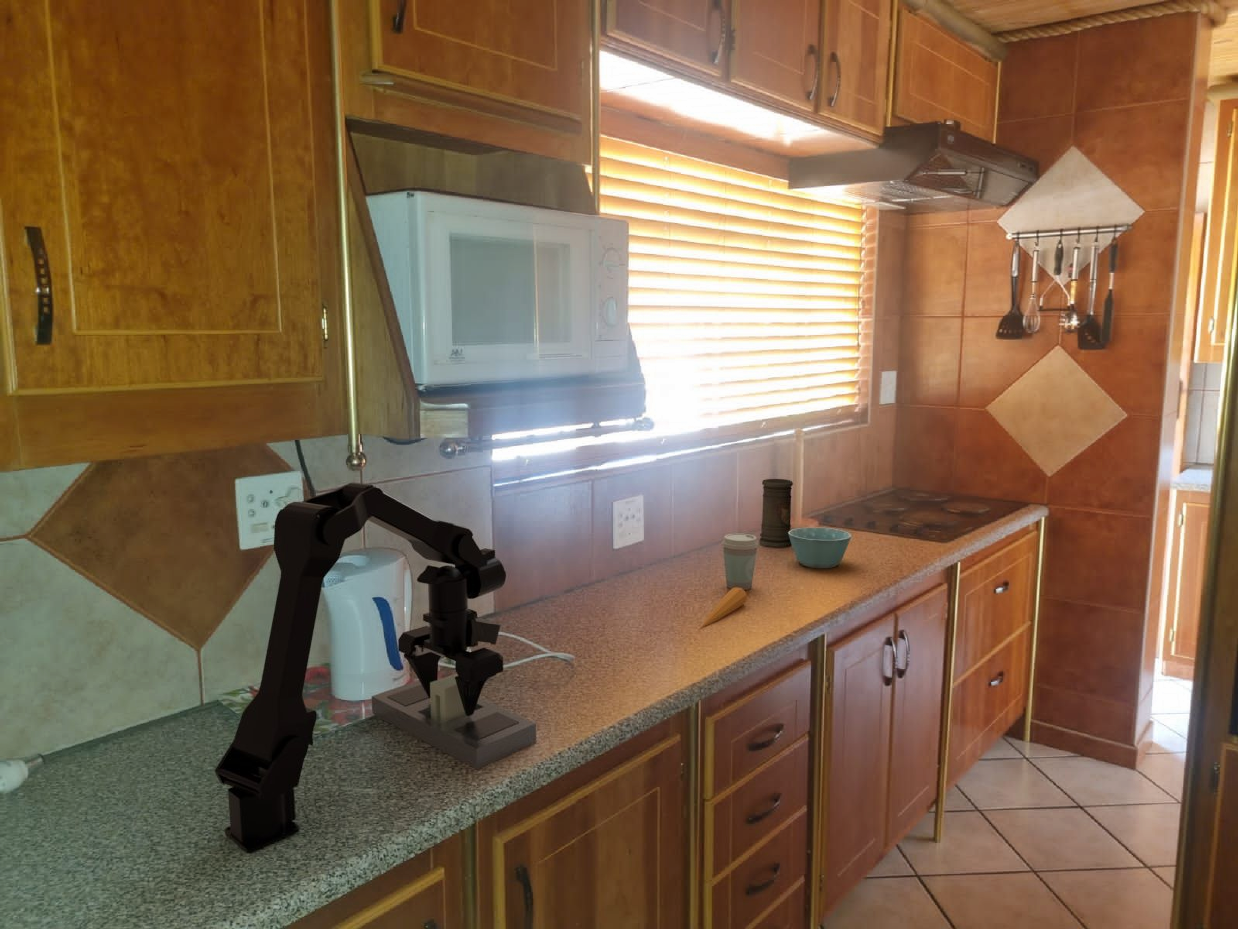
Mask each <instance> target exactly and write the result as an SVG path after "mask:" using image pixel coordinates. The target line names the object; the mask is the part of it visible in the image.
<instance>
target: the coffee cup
mask: <svg viewBox="0 0 1238 929" xmlns="http://www.w3.org/2000/svg"><path fill="white" fill-rule="evenodd" d="M721 542H722V543H721V546H722V547H723V548H722V549H723V561H724V571H725V582H726V583H725V584H726V588H728V589H730V590H731V589H732V588H735V587H737V588H742V589H743V590H744V591H747V590H750V589H752V588H753V587H752V586H753V580H754V574H755V573H754V572H755V565H756V561H757V560H756V559H757V553H758V548H759V546H760V544H759V541H758V539H757V536H756V535H753V534H748V533H729V534H726V535H724V537H723V540H722V541H721Z"/></svg>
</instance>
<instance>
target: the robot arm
mask: <svg viewBox="0 0 1238 929" xmlns="http://www.w3.org/2000/svg"><path fill="white" fill-rule="evenodd" d="M368 521H369V522H371V523H373V524H374V525H377V526H378V527H380V528H383V529H385V530H386V531H388V532H390V533H393V534H395V535H397V536H399V537H401V538H403V539H405V540H407V541H408V543H410V545H411V547H412V550H414V551H415V552H416V553H417V554H419V556H421V557H422V558H423V559H425V560H428V561H433V562H439V563H443V564H449V565H442V566H440V567H439V566H435V565H434V566H433V565H429V564H428V565H427V566H426V568H425V569H424V570H423V571H422V572H421V573H420V574H419V575H418V576H417V578H416V581H417V583H421V584H426V585H427V586H428V587H427V588H428V590H427V592H428V595H427V596H428V612H425V613H424V614H422V621H423V622H425V623H428V624H429V625H425V626H421V627H417V628H414V629H411V630H406V631H404V632H402V634H401V635H400V636H399V638H398V639H397V640H398V641H397V643H398V646H397V647H398V652H400V653H403V658H404V659H405V660H406V661H407V662H408V664H409V665H410V668H411V669H412V671H413V672H414V674H415V675H416V677H417V679H418V680H419V681H420V683H421V684H422V686H423V688H424V690H425V692H426V694H427V695H428V697H429V698H430V683H431V682H433V681H436V680H439V678H438V676H439V661H440V660H441V658H447V659H449V660H451V661H454V669H455V672H456V674H458V676H457V677H455V680H456V684H457V687H458V691H459V694H460V698H461V701H462V705H463V708H464V711H465V714H466V716H470V715H473V714H474V711H475V708H476V705H477V702H478V699H479V698H480V696H481V693H482V690H483V688H484V686H485V684H486V682H487V681H488V679H490V678H493V677H494V676H496V675H497V674H500V673H502V672H504V656H502V655H501V654H500V653H499V652H496V651H494V650H491V649H489V648H487V647H481V648H478V649H476V650H471V651H468V648H469V647H470V648H474V647H477V646H479V642H480V643H488V644H490V645H497V641H498V637H499V632H500V628H501V625H502V624H500V623H497V622H495V621H491V620H488V619H485V618H482V617H478V612H477V611H476V610H474V609H470V608H468V607H469V605H468V600H472V599H473V600H474V599H477V598H479V597H482V596H485V595H487V594H490V593H493V592H494V591H497V590H500V589H501V588H502V587H503V586H504V585H505V582H506V578H507V571H506V570H505V568H504V565H503V564H502V562H501V561H500V559H499V558H497V557H496V550H495V549H491V548H487V547H486V548H482V549H480V548H479V546H478V544H477V543H476V541H475V539H474V537H473V536H474V533H473V531H472V530H471V528H469V527H467V526H464V525H460V524H456V523H453V522H446V521H442V520H438V519H434V518H431V517H430V516H428V515H426V514H425V513H422V512H420V511H419V510H417V509H415V508H413V507H412V506H410V505H407V504H406V503H404V502H402V501H401V500H399V499H397V498H395V497H393V496H392V495H389V494H387V493H386V492H384V491H383V490H382V488H380V487H378V485H374V484H369V483H360V482H349V483H347V484H344V485H341V487H339V488H337V489H335V490H331V491H328V492H325V493H321V494H318V495H315V496H311V497H308V498H307V499H304V500H302V501H292V502H289V503H288V504H287V505H286V506H284V507H283V508H282V509H280V510H279V511H278V513H277V515H276V517H275V520H274V531H273V533H274V535H273V536H274V537H273V551H274V554H275V558H276V561H277V563H278V567H279V570H280V579H279V584H278V589H277V595H276V599H275V605H274V611H273V615H272V621H271V626H270V632H269V638H268V642H267V649H266V653H265V660H264V664H263V670H262V673H261V674H262V675H261V681H260V685H259V690H258V692H257V694H256V695H255V696H254V697H253V699H252V700H250V702H249V704H248V705H247V706H246V707H245V708H244V710H243V712H242V714H241V717H240V720H239V723H238V725H237V729H236V732H235V735H234V738H233V740H232V742H231V744H230V745H229V747H228V748H227V750H226V752H225V753H224V755H223V756H222V758H221V759H220V761H219V763H218V764H217V766H216V767H215V769H214V773H215V776H216V777H217V780H218V781H219V783H220V784H223V785H227V786H229V788H227V798H228V812H229V826H227V827H225V828H224V834H225V835H226V836H227V837H228V838H230V839H231V840H232V841H233V842H234V843H236V844H237V845H238V846H239V847H240V848H241V849H242V850H244V851H245V852H246V853H252V852H255V851H256V850H260V849H262V848H263V847H266V846H268V845H270V844H273V843H275V842H277V841H280V840H281V839H282V840H283V839H284V838H287V837H289V836H292V835H294V834H296V833H298V832H299V831H300V826H299V825H298V824H297V823H296V822H294V821H295V820H296V816H297V815H296V801H295V800H296V796H295V795H296V794H295V788H296V787H298V786H299V783H300V778H301V775H302V770H303V765H304V763H305V759H306V756H307V753H308V750H309V745H310V746H313V745H314V738H313V736H314V729H315V725H316V722H317V710H315V709H311V708H308V707H306V704H305V701H304V699H303V692H304V687H305V681H306V674H307V670H308V664H309V659H310V652H311V647H312V641H313V637H314V632H315V631H314V630H315V625H316V620H317V614H318V608H319V603H320V597H321V592H322V586H323V583H324V582H323V581H324V578H325V577H326V576H327V575H328V573H329V572H330V571H331V569H332V568H333V567H334V566H335V564H336V563H337V562H338V561H339V560H340V556H341V554H342V551H343V548H344V544H345V542H346V540H348V539H349V538H351V537H352V536H353V535H355V534H357V533H359V532H360V531H362V530H363V528H364V526H365V525H366V523H367V522H368ZM452 565H454V566H452Z"/></svg>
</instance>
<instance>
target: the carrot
mask: <svg viewBox="0 0 1238 929" xmlns="http://www.w3.org/2000/svg"><path fill="white" fill-rule="evenodd" d="M746 603H747V592H746V590H743V589H742V588H737V587H735V588H732V589H730V590H729V591H727V593H726V594H725V595H724V596H723V597H722V599H721V600H720V601H719V602H718V603H717V605H716V606H715V607H714V609H713V610H712V611H711V613H710V614H708V616H707V618H706V619H705V620H704V622H703V623H702V625H701V627H700V629H702V628H704V627H706V626H708V625H711V624H712V623H715V622H717V621H718V620H720V619H722V618H723V617H725V616H727V615H729V614H730V613H733V612H734V611H736V610H737V609H739V608H741V607H742V606H744V605H745V604H746Z"/></svg>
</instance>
